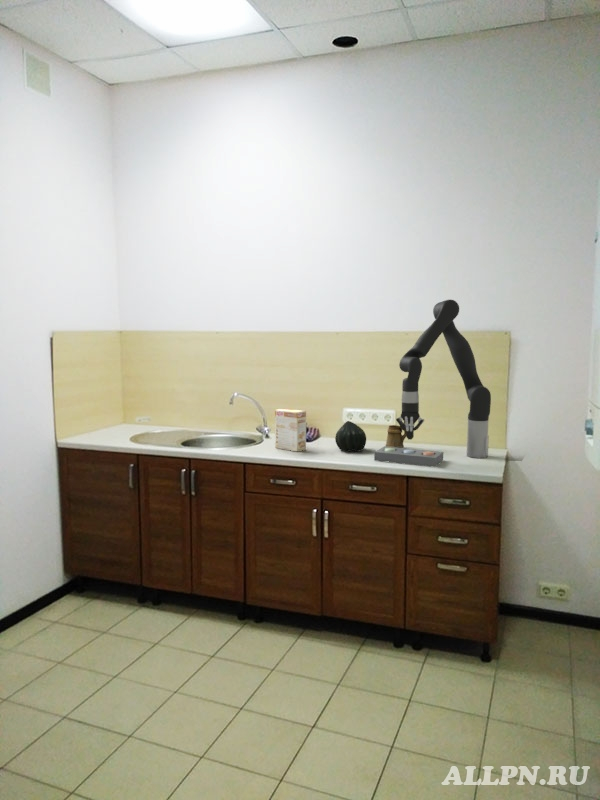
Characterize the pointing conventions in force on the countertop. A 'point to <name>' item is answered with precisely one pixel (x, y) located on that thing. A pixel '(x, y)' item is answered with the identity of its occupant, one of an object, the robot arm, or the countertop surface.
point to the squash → (350, 437)
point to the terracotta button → (428, 453)
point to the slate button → (409, 451)
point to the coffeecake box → (290, 429)
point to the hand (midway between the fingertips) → (409, 439)
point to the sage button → (390, 449)
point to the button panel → (409, 456)
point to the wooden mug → (395, 436)
